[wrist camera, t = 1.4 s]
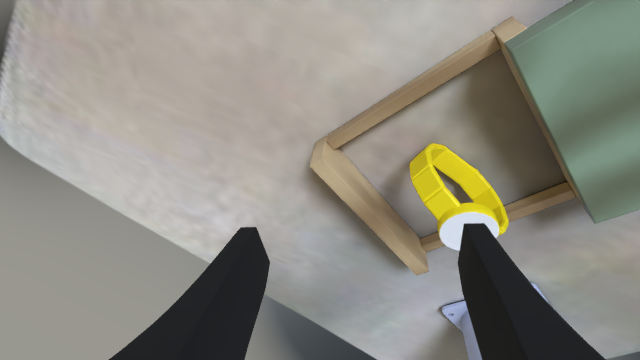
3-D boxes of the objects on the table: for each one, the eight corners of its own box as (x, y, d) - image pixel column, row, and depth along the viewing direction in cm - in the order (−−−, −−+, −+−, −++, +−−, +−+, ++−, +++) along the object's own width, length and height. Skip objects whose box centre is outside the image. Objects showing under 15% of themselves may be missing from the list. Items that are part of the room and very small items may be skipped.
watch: (502, 172, 21) (538, 247, 16) (466, 198, 23) (490, 273, 18) (430, 120, 19) (448, 188, 15) (397, 152, 21) (404, 222, 16)
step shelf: (773, 113, 17) (836, 146, 15) (413, 248, 26) (417, 281, 24) (751, -140, 12) (844, -150, 9) (314, 142, 21) (307, 171, 19)
